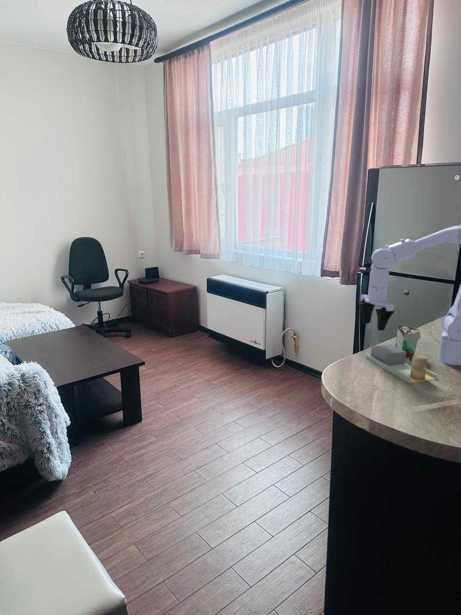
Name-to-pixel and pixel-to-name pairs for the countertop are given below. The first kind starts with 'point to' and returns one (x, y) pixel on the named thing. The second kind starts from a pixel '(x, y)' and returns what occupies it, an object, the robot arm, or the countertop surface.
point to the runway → (402, 370)
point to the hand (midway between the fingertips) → (373, 326)
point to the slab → (388, 354)
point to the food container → (407, 339)
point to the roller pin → (418, 367)
